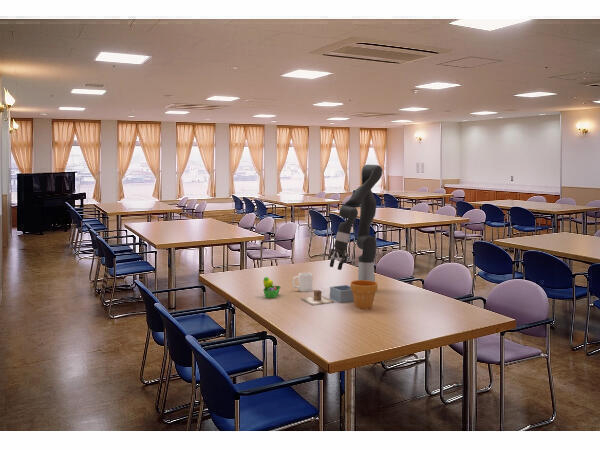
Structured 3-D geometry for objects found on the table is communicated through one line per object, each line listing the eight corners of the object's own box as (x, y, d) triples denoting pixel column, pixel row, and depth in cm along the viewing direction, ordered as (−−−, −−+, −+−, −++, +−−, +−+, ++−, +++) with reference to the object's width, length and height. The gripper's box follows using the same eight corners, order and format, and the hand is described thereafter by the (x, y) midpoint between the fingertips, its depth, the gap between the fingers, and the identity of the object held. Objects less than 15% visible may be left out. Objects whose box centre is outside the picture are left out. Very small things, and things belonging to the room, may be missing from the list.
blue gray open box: (346, 297, 303) (346, 285, 302) (357, 301, 293) (357, 289, 292) (329, 299, 297) (330, 286, 297) (340, 303, 288) (340, 291, 287)
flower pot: (373, 311, 273) (374, 286, 272) (347, 308, 278) (347, 284, 276) (379, 304, 286) (380, 281, 285) (353, 302, 291) (354, 279, 290)
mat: (322, 297, 300) (322, 296, 300) (335, 303, 288) (335, 302, 288) (300, 300, 294) (300, 299, 294) (312, 306, 281) (312, 305, 281)
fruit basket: (276, 299, 295) (276, 279, 294) (260, 298, 297) (260, 278, 296) (280, 294, 306) (280, 275, 305) (265, 293, 308) (266, 274, 307)
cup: (313, 291, 314) (313, 275, 313) (293, 292, 312) (293, 275, 310) (310, 288, 322) (310, 272, 321) (291, 289, 320) (291, 272, 318)
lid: (321, 297, 299) (321, 287, 299) (333, 302, 288) (333, 292, 287) (301, 299, 293) (301, 289, 293) (312, 305, 282) (313, 294, 281)
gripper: (354, 243, 297) (347, 271, 297) (340, 240, 310) (333, 267, 310) (343, 241, 294) (336, 269, 294) (329, 237, 306) (323, 265, 306)
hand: (335, 268), depth 302 cm, fingers open, 8 cm apart
